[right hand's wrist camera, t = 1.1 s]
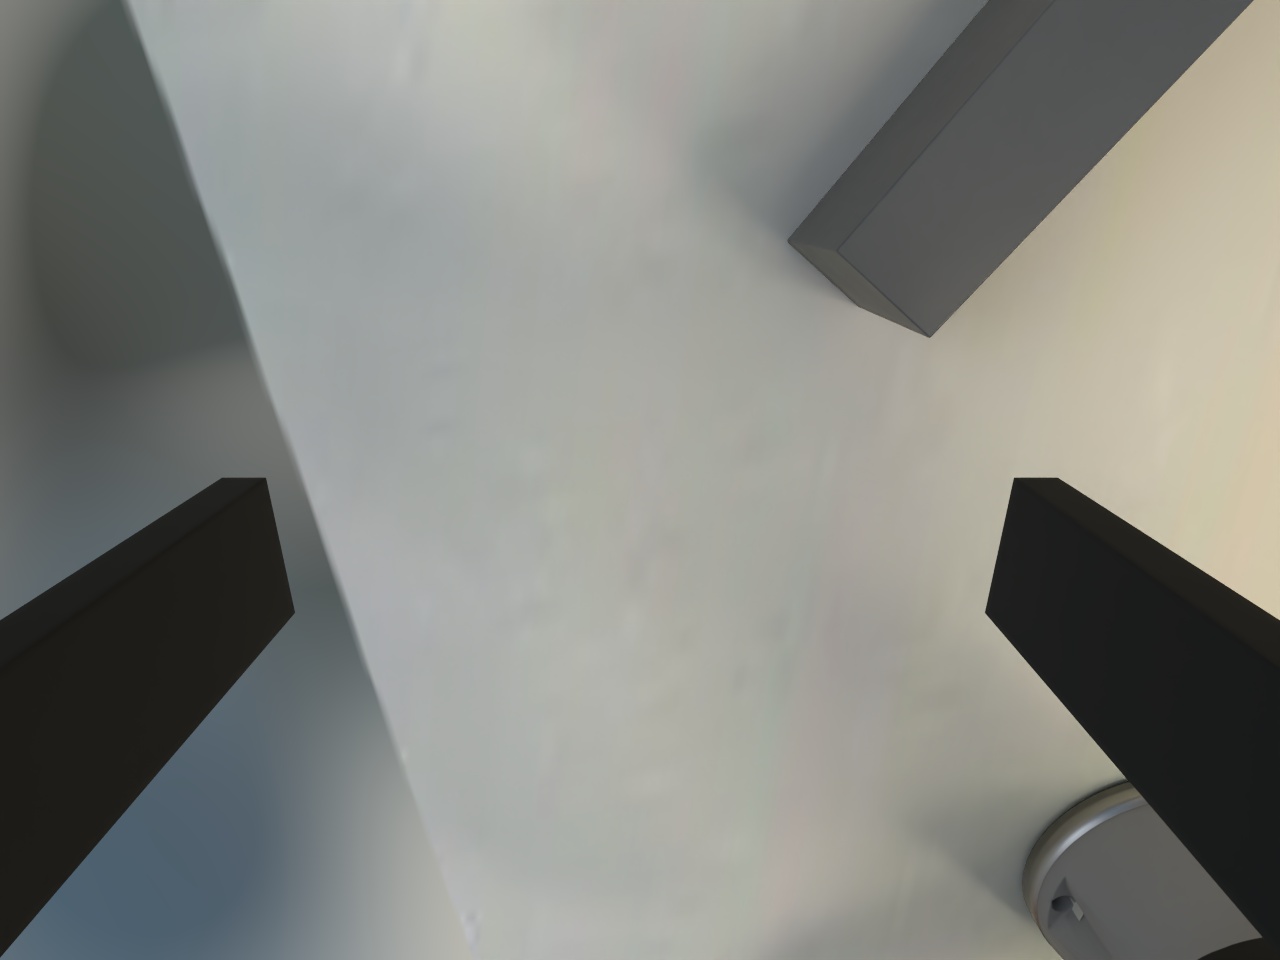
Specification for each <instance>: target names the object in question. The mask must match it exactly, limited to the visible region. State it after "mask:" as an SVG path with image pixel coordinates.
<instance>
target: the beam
mask: <svg viewBox="0 0 1280 960" xmlns="http://www.w3.org/2000/svg"><path fill="white" fill-rule="evenodd" d="M1252 1H1253V0H989V1H988V2H987V3H986V5H985V6H984V7H983V8H982V9H981V11H980V12H979V13H978V14H977V15H976V17H975V18H974V19H973V20H972V21H971V22H970V24H969V25H968V26H967V27H966V28H965V30H964V31H963V32H962V33H961V34H960V36H959V37H958V38H957V39H956V40H955V42H954V43H953V44H952V45H951V46H950V47H949V49H948V50H947V51H946V52H945V53H944V55H943V56H942V57H941V58H940V59H939V61H938V62H937V63H936V64H935V65H934V67H933V68H932V69H931V70H930V71H929V72H928V74H927V75H926V76H925V77H924V78H923V80H922V81H921V82H920V83H919V84H918V86H917V87H916V88H915V89H914V90H913V92H912V93H911V94H910V95H909V96H908V97H907V99H906V100H905V101H904V102H903V103H902V105H901V106H900V107H899V108H898V109H897V111H896V112H895V113H894V114H893V115H892V117H891V118H890V119H889V120H888V121H887V122H886V124H885V125H884V126H883V127H882V128H881V130H880V131H879V132H878V133H877V134H876V136H875V137H874V138H873V139H872V140H871V142H870V143H869V144H868V145H867V146H866V147H865V149H864V150H863V151H862V152H861V153H860V155H859V156H858V157H857V158H856V159H855V161H854V162H853V163H852V164H851V165H850V167H849V168H848V169H847V170H846V171H845V173H844V174H843V175H842V176H841V177H840V178H839V180H838V181H837V182H836V183H835V184H834V186H833V187H832V188H831V189H830V190H829V192H828V193H827V194H826V195H825V196H824V198H823V199H822V200H821V201H820V202H819V203H818V205H817V206H816V207H815V208H814V209H813V211H812V212H811V213H810V214H809V215H808V217H807V218H806V219H805V220H804V221H803V223H802V224H801V225H800V226H799V227H798V228H797V230H796V231H795V232H794V233H793V234H792V236H791V237H790V238H789V239H788V243H790V244H791V245H792V246H793V247H794V248H795V249H796V250H797V251H798V252H799V253H801V254H802V255H803V256H804V257H805V258H806V259H807V260H808V261H809V262H810V263H811V264H813V265H814V266H815V267H816V268H817V269H818V270H819V271H820V272H821V273H822V274H823V275H825V276H826V277H827V278H828V279H829V280H830V281H831V282H832V283H833V284H834V285H835V286H837V287H838V288H839V289H840V290H841V291H842V292H843V293H844V294H845V295H846V296H847V297H849V298H850V299H851V300H852V301H853V302H854V303H855V304H856V305H857V306H858V307H860V308H863V309H865V310H867V311H869V312H872V313H874V314H876V315H879V316H881V317H883V318H885V319H888V320H890V321H892V322H894V323H897V324H899V325H901V326H904V327H906V328H908V329H910V330H913V331H915V332H917V333H920V334H922V335H924V336H926V337H929V338H930V337H931V336H932V335H933V334H934V333H935V332H936V331H937V330H938V329H939V328H940V327H941V326H942V325H943V324H944V323H945V322H946V321H947V320H948V318H949V317H950V316H951V315H952V314H953V313H954V312H955V311H956V310H957V309H958V308H959V307H960V306H961V305H962V304H963V303H964V302H965V301H966V300H967V299H968V298H969V297H970V296H971V294H972V293H973V292H974V291H975V290H976V289H977V288H978V287H979V286H980V285H981V284H982V283H983V282H984V281H985V280H986V279H987V278H988V277H989V276H990V275H991V274H992V273H993V272H994V270H995V269H996V268H997V267H998V266H999V265H1000V264H1001V263H1002V262H1003V261H1004V260H1005V259H1006V258H1007V257H1008V256H1009V255H1010V254H1011V253H1012V252H1013V251H1014V250H1015V249H1016V248H1017V246H1018V245H1019V244H1020V243H1021V242H1022V241H1023V240H1024V239H1025V238H1026V237H1027V236H1028V235H1029V234H1030V233H1031V232H1032V231H1033V230H1034V229H1035V228H1036V227H1037V226H1038V225H1039V224H1040V223H1041V221H1042V220H1043V219H1044V218H1045V217H1046V216H1047V215H1048V214H1049V213H1050V212H1051V211H1052V210H1053V209H1054V208H1055V207H1056V206H1057V205H1058V204H1059V203H1060V202H1061V201H1062V200H1063V199H1064V197H1065V196H1066V195H1067V194H1068V193H1069V192H1070V191H1071V190H1072V189H1073V188H1074V187H1075V186H1076V185H1077V184H1078V183H1079V182H1080V181H1081V180H1082V179H1083V178H1084V177H1085V176H1086V175H1087V173H1088V172H1089V171H1090V170H1091V169H1092V168H1093V167H1094V166H1095V165H1096V164H1097V163H1098V162H1099V161H1100V160H1101V159H1102V158H1103V157H1104V156H1105V155H1106V154H1107V153H1108V152H1109V151H1110V149H1111V148H1112V147H1113V146H1114V145H1115V144H1116V143H1117V142H1118V141H1119V140H1120V139H1121V138H1122V137H1123V136H1124V135H1125V134H1126V133H1127V132H1128V131H1129V130H1130V129H1131V128H1132V127H1133V125H1134V124H1135V123H1136V122H1137V121H1138V120H1139V119H1140V118H1141V117H1142V116H1143V115H1144V114H1145V113H1146V112H1147V111H1148V110H1149V109H1150V108H1151V107H1152V106H1153V105H1154V104H1155V103H1156V102H1157V100H1158V99H1159V98H1160V97H1161V96H1162V95H1163V94H1164V93H1165V92H1166V91H1167V90H1168V89H1169V88H1170V87H1171V86H1172V85H1173V84H1174V83H1175V82H1176V81H1177V80H1178V79H1179V78H1180V76H1181V75H1182V74H1183V73H1184V72H1185V71H1186V70H1187V69H1188V68H1189V67H1190V66H1191V65H1192V64H1193V63H1194V62H1195V61H1196V60H1197V59H1198V58H1199V57H1200V56H1201V55H1202V54H1203V52H1204V51H1205V50H1206V49H1207V48H1208V47H1209V46H1210V45H1211V44H1212V43H1213V42H1214V41H1215V40H1216V39H1217V38H1218V37H1219V36H1220V35H1221V34H1222V33H1223V32H1224V31H1225V30H1226V28H1227V27H1228V26H1229V25H1230V24H1231V23H1232V22H1233V21H1234V20H1235V19H1236V18H1237V17H1238V16H1239V15H1240V14H1241V13H1242V12H1243V11H1244V10H1245V9H1246V8H1247V7H1248V6H1249V4H1250V3H1251V2H1252Z"/></svg>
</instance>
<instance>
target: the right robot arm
mask: <svg viewBox="0 0 1280 960" xmlns="http://www.w3.org/2000/svg"><path fill="white" fill-rule="evenodd" d="M294 613H295V611H294V606H293V601H292V597H291V592H290V588H289V583H288V578H287V574H286V569H285V564H284V560H283V555H282V550H281V546H280V541H279V536H278V532H277V527H276V523H275V518H274V513H273V509H272V504H271V499H270V495H269V490H268V485H267V481H266V478H221V479H220V480H218V481H216V482H215V483H213V484H212V485H210V486H209V487H207V488H206V489H204V490H202V491H201V492H199V493H198V494H196V495H195V496H193V497H192V498H190V499H189V500H187V501H185V502H184V503H182V504H181V505H179V506H178V507H176V508H174V509H173V510H171V511H170V512H168V513H167V514H165V515H164V516H162V517H160V518H159V519H157V520H156V521H154V522H153V523H151V524H150V525H148V526H146V527H145V528H143V529H142V530H140V531H139V532H137V533H136V534H134V535H132V536H131V537H129V538H128V539H126V540H125V541H123V542H122V543H120V544H118V545H117V546H115V547H114V548H112V549H111V550H109V551H108V552H106V553H104V554H103V555H101V556H100V557H98V558H97V559H95V560H94V561H92V562H90V563H89V564H87V565H86V566H84V567H83V568H81V569H80V570H78V571H76V572H75V573H73V574H72V575H70V576H69V577H67V578H65V579H64V580H62V581H61V582H59V583H58V584H56V585H55V586H53V587H51V588H50V589H48V590H47V591H45V592H44V593H42V594H41V595H39V596H37V597H36V598H34V599H33V600H31V601H30V602H28V603H27V604H25V605H24V606H22V607H20V608H19V609H17V610H16V611H14V612H13V613H11V614H10V615H8V616H6V617H5V618H3V619H2V620H0V957H1V956H2V955H3V954H4V952H5V951H6V950H7V949H8V948H9V947H10V945H11V944H12V943H13V942H14V941H15V939H16V938H17V937H18V936H19V935H20V934H21V932H22V931H23V930H24V929H25V928H26V927H27V926H28V924H29V923H30V922H31V921H32V920H33V919H34V917H35V916H36V915H37V914H38V913H39V911H40V910H41V909H42V908H43V907H44V906H45V904H46V903H47V902H48V901H49V900H50V899H51V897H52V896H53V895H54V894H55V893H56V892H57V890H58V889H59V888H60V887H61V886H62V885H63V883H64V882H65V881H66V880H67V879H68V877H69V876H70V875H71V874H72V873H73V872H74V871H75V869H76V868H77V867H78V866H79V865H80V864H81V862H82V861H83V860H84V859H85V858H86V857H87V855H88V854H89V853H90V852H91V851H92V850H93V848H94V847H95V846H96V845H97V844H98V842H99V841H100V840H101V839H102V838H103V837H104V835H105V834H106V833H107V832H108V831H109V830H110V828H111V827H112V826H113V825H114V824H115V823H116V821H117V820H118V819H119V818H120V817H121V816H122V814H123V813H124V812H125V811H126V810H127V809H128V807H129V806H130V805H131V804H132V803H133V802H134V800H135V799H136V798H137V797H138V796H139V794H140V793H141V792H142V791H143V790H144V789H145V787H146V786H147V785H148V784H149V783H150V782H151V781H152V779H153V778H154V777H155V776H156V775H157V774H158V772H159V771H160V770H161V769H162V768H163V766H164V765H165V764H166V763H167V762H168V761H169V759H170V758H171V757H172V756H173V755H174V754H175V752H176V751H177V750H178V749H179V748H180V747H181V745H182V744H183V743H184V742H185V741H186V740H187V738H188V737H189V736H190V735H191V734H192V733H193V731H194V730H195V729H196V728H197V727H198V726H199V724H200V723H201V722H202V721H203V720H204V719H205V717H206V716H207V715H208V714H209V713H210V711H211V710H212V709H213V708H214V707H215V706H216V704H217V703H218V702H219V701H220V700H221V699H222V697H223V696H224V695H225V694H226V693H227V692H228V690H229V689H230V688H231V687H232V686H233V685H234V683H235V682H236V681H237V680H238V679H239V678H240V676H241V675H242V674H243V673H244V672H245V671H246V669H247V668H248V667H249V666H250V665H251V663H252V662H253V661H254V660H255V659H256V658H257V657H258V655H259V654H260V653H261V652H262V651H263V649H264V648H265V647H266V646H267V645H268V644H269V643H270V641H271V640H272V639H273V638H274V637H275V636H276V634H277V633H278V632H279V631H280V630H281V628H282V627H283V626H284V625H285V624H286V623H287V621H288V620H289V619H290V618H291V617H292V616H293V614H294ZM985 613H986V614H987V616H988V617H989V618H990V619H991V620H992V621H993V623H994V624H995V625H996V626H997V627H998V628H999V630H1000V631H1001V632H1002V633H1003V634H1004V636H1005V637H1006V638H1007V639H1008V640H1009V641H1010V643H1011V644H1012V645H1013V646H1014V647H1015V648H1016V650H1017V651H1018V652H1019V653H1020V654H1021V655H1022V657H1023V658H1024V659H1025V660H1026V661H1027V662H1028V664H1029V665H1030V666H1031V667H1032V668H1033V669H1034V671H1035V672H1036V673H1037V674H1038V675H1039V676H1040V678H1041V679H1042V680H1043V681H1044V682H1045V683H1046V685H1047V686H1048V687H1049V688H1050V689H1051V690H1052V692H1053V693H1054V694H1055V695H1056V696H1057V697H1058V699H1059V700H1060V701H1061V702H1062V703H1063V705H1064V706H1065V707H1066V708H1067V709H1068V710H1069V712H1070V713H1071V714H1072V715H1073V716H1074V717H1075V719H1076V720H1077V721H1078V722H1079V723H1080V724H1081V726H1082V727H1083V728H1084V729H1085V730H1086V731H1087V733H1088V734H1089V735H1090V736H1091V737H1092V738H1093V740H1094V741H1095V742H1096V743H1097V744H1098V745H1099V747H1100V748H1101V749H1102V750H1103V751H1104V752H1105V754H1106V755H1107V756H1108V757H1109V758H1110V759H1111V761H1112V762H1113V763H1114V764H1115V765H1116V766H1117V768H1118V769H1119V770H1120V771H1121V772H1122V774H1123V775H1124V776H1125V777H1126V778H1127V779H1128V781H1129V782H1126V783H1123V784H1120V785H1117V786H1114V787H1112V788H1109V789H1107V790H1104V791H1102V792H1100V793H1097V794H1095V795H1093V796H1091V797H1090V798H1088V799H1086V800H1084V801H1082V802H1081V803H1079V804H1078V805H1076V806H1075V807H1073V808H1072V809H1070V810H1069V811H1067V812H1066V813H1065V814H1063V815H1062V816H1061V817H1060V818H1059V819H1057V820H1056V821H1055V822H1054V823H1053V824H1052V825H1051V826H1050V827H1049V828H1048V829H1047V830H1046V831H1045V832H1044V834H1043V835H1042V836H1041V838H1040V839H1039V840H1038V841H1037V843H1036V845H1035V846H1034V848H1033V849H1032V851H1031V853H1030V855H1029V857H1028V860H1027V863H1026V866H1025V869H1024V874H1023V894H1024V899H1025V902H1026V904H1027V907H1028V909H1029V911H1030V912H1031V914H1032V916H1033V918H1034V920H1035V921H1036V923H1037V925H1038V927H1039V929H1040V930H1041V932H1042V934H1043V936H1044V937H1045V939H1046V940H1047V941H1048V943H1049V944H1050V945H1051V946H1052V947H1053V948H1054V949H1055V951H1056V952H1057V953H1058V954H1059V955H1060V956H1061V957H1062V958H1063V959H1064V960H1280V620H1278V619H1277V618H1275V617H1274V616H1272V615H1271V614H1269V613H1267V612H1266V611H1264V610H1263V609H1261V608H1260V607H1258V606H1257V605H1255V604H1253V603H1252V602H1250V601H1249V600H1247V599H1246V598H1244V597H1243V596H1241V595H1239V594H1238V593H1236V592H1235V591H1233V590H1232V589H1230V588H1229V587H1227V586H1225V585H1224V584H1222V583H1221V582H1219V581H1218V580H1216V579H1215V578H1213V577H1211V576H1210V575H1208V574H1207V573H1205V572H1204V571H1202V570H1201V569H1199V568H1197V567H1196V566H1194V565H1193V564H1191V563H1190V562H1188V561H1186V560H1185V559H1183V558H1182V557H1180V556H1179V555H1177V554H1176V553H1174V552H1172V551H1171V550H1169V549H1168V548H1166V547H1165V546H1163V545H1162V544H1160V543H1158V542H1157V541H1155V540H1154V539H1152V538H1151V537H1149V536H1148V535H1146V534H1144V533H1143V532H1141V531H1140V530H1138V529H1137V528H1135V527H1134V526H1132V525H1130V524H1129V523H1127V522H1126V521H1124V520H1123V519H1121V518H1120V517H1118V516H1116V515H1115V514H1113V513H1112V512H1110V511H1109V510H1107V509H1106V508H1104V507H1102V506H1101V505H1099V504H1098V503H1096V502H1095V501H1093V500H1092V499H1090V498H1088V497H1087V496H1085V495H1084V494H1082V493H1081V492H1079V491H1078V490H1076V489H1074V488H1073V487H1071V486H1070V485H1068V484H1067V483H1065V482H1064V481H1062V480H1060V479H1059V478H1014V481H1013V485H1012V490H1011V495H1010V499H1009V504H1008V508H1007V513H1006V518H1005V522H1004V527H1003V532H1002V536H1001V541H1000V546H999V550H998V555H997V560H996V564H995V569H994V574H993V578H992V583H991V587H990V592H989V597H988V601H987V606H986V611H985Z"/></svg>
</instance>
